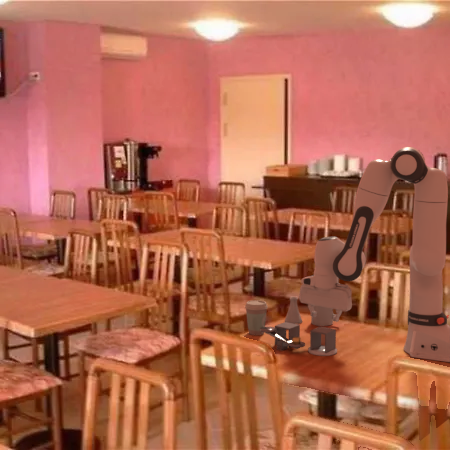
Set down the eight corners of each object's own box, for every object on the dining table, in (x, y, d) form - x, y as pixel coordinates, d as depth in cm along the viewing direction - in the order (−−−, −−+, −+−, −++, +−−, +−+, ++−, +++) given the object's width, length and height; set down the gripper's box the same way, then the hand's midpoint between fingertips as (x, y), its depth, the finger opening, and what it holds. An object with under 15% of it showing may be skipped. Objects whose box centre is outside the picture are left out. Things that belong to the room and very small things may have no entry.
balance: (308, 351, 270) (308, 334, 269) (298, 355, 265) (298, 338, 264) (266, 342, 281) (266, 325, 280) (256, 346, 276) (256, 329, 275)
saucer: (342, 350, 270) (342, 348, 270) (327, 357, 263) (327, 355, 262) (318, 345, 276) (318, 343, 276) (302, 352, 269) (302, 350, 269)
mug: (308, 325, 304) (308, 297, 302) (314, 319, 312) (315, 293, 310) (338, 328, 299) (338, 300, 298) (343, 322, 307) (344, 295, 305)
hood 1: (299, 343, 279) (299, 324, 278) (289, 347, 274) (289, 328, 273) (285, 340, 283) (285, 321, 282) (275, 344, 278) (275, 325, 277)
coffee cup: (265, 336, 288) (265, 305, 286) (243, 335, 290) (243, 304, 288) (269, 330, 296) (269, 300, 295) (247, 329, 298) (247, 299, 296)
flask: (301, 325, 304) (301, 300, 303) (283, 324, 305) (283, 299, 304) (303, 320, 311) (303, 296, 310) (285, 319, 312) (285, 295, 311)
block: (333, 343, 279) (334, 331, 279) (328, 346, 276) (328, 333, 276) (324, 341, 282) (324, 329, 281) (318, 344, 279) (318, 332, 278)
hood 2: (335, 348, 270) (335, 329, 269) (326, 353, 265) (326, 333, 264) (319, 345, 274) (320, 326, 273) (310, 349, 269) (310, 330, 268)
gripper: (355, 284, 272) (354, 322, 274) (307, 275, 284) (305, 312, 286) (346, 287, 267) (345, 325, 269) (297, 278, 280) (296, 315, 282)
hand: (324, 318), depth 278 cm, fingers open, 8 cm apart
